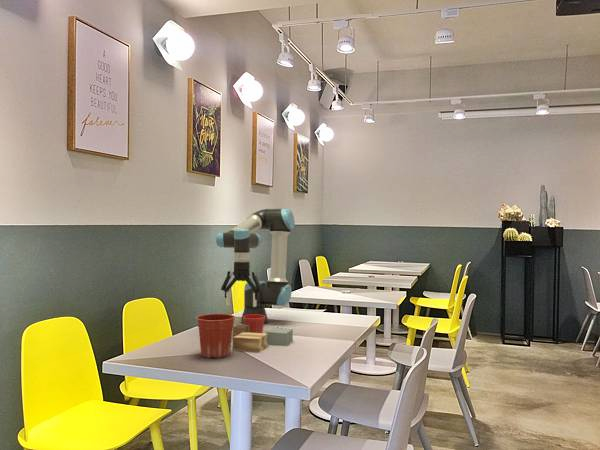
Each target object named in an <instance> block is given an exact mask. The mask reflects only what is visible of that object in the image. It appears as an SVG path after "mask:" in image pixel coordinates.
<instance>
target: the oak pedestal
mask: <svg viewBox="0 0 600 450" xmlns="http://www.w3.org/2000/svg"><path fill="white" fill-rule="evenodd" d="M268 346H269V345H268V334H266V333H263V332H262V333H251V332H242V333H240V334H239V335H237V336H235V337H233V336H232V351H235V352H246V353H247V352H248V353H260V352H262V351H263V350H264V349H266V348H267V347H268Z"/></svg>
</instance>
